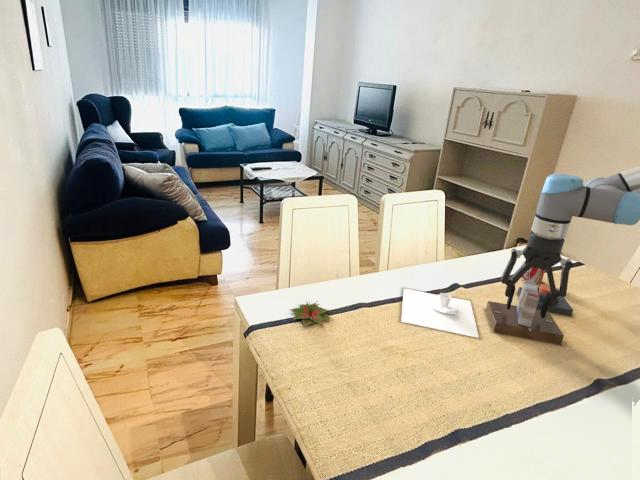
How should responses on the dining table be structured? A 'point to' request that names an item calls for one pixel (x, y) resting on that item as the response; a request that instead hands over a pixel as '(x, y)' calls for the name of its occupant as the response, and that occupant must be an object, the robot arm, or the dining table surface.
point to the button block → (559, 306)
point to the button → (544, 289)
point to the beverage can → (534, 275)
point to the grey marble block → (527, 303)
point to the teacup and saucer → (438, 312)
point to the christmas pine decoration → (310, 313)
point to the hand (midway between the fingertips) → (524, 311)
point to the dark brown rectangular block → (508, 324)
